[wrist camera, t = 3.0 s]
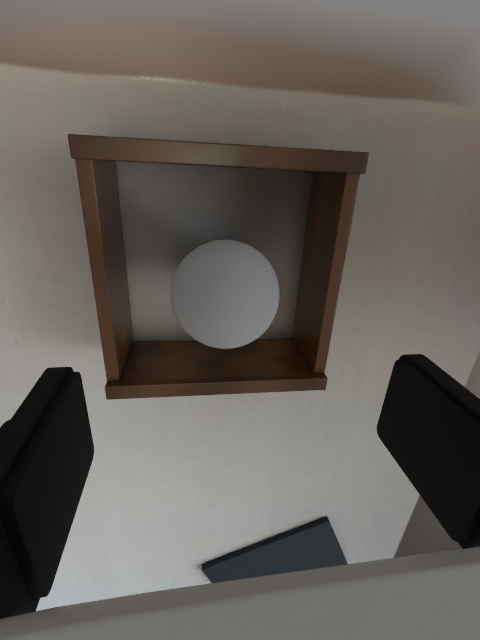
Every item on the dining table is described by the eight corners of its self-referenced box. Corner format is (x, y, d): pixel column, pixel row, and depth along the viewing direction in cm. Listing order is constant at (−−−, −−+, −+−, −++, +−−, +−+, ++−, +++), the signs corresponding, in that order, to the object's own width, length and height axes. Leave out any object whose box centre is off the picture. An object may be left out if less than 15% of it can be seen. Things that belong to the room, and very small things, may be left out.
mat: (326, 516, 39) (328, 521, 38) (345, 559, 43) (347, 564, 43) (201, 564, 39) (201, 569, 39) (232, 602, 44) (233, 608, 43)
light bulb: (250, 214, 23) (286, 242, 14) (260, 291, 26) (297, 357, 17) (167, 229, 23) (152, 268, 14) (186, 305, 26) (183, 380, 17)
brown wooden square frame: (326, 156, 22) (369, 152, 17) (299, 347, 29) (325, 390, 23) (100, 142, 20) (67, 133, 15) (123, 351, 27) (106, 399, 21)
